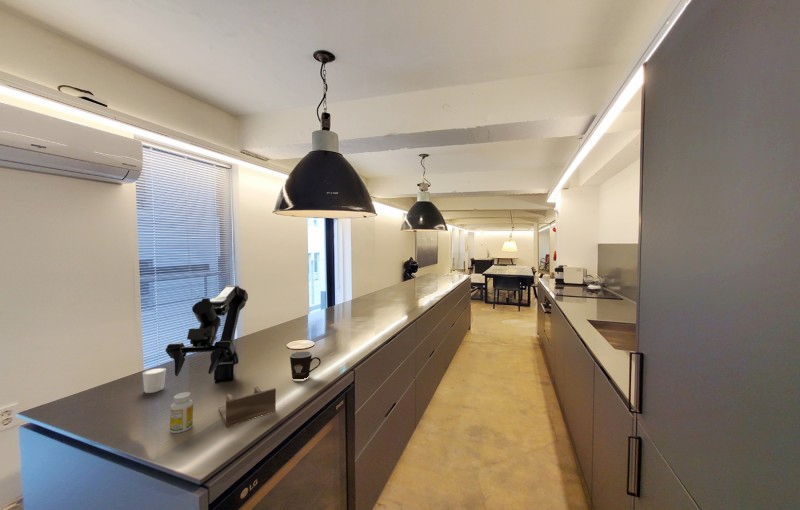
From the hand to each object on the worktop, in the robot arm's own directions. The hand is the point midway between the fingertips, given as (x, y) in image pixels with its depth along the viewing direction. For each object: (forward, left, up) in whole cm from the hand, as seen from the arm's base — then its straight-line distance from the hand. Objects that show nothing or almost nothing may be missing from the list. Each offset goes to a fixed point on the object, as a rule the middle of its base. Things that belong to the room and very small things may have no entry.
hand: (192, 374), depth 94 cm
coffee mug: (-36, -15, -13) cm, 41 cm away
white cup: (+16, -28, -13) cm, 35 cm away
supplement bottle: (+1, +7, -13) cm, 15 cm away
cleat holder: (-15, +4, -13) cm, 20 cm away
